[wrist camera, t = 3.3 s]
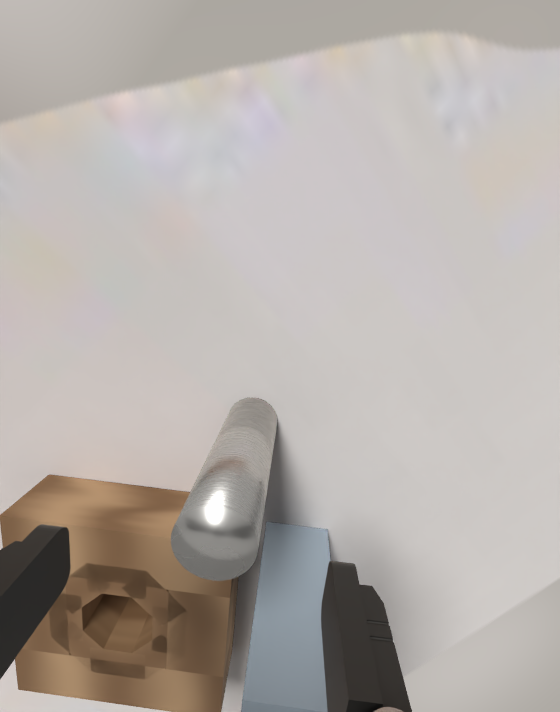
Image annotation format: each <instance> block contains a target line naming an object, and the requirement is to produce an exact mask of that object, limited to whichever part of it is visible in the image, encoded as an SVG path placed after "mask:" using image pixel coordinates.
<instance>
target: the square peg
mask: <svg viewBox="0 0 560 712" xmlns="http://www.w3.org/2000/svg"><path fill="white" fill-rule="evenodd" d="M330 561H331V560H330V549H329V539H328V529H320V528H312V527H304V526H297V525H289V524H281V523H273V522H266V530H265V537H264V544H263V552H262V559H261V566H260V574H259V581H258V589H257V596H256V603H255V611H254V618H253V626H252V633H251V640H250V648H249V655H248V663H247V670H246V677H245V685H244V692H243V700H242V709H241V712H328V711H327V697H326V684H325V670H324V657H323V643H322V629H321V606H322V598H323V592H324V587H325V581H326V575H327V570H328V565H329V562H330Z"/></svg>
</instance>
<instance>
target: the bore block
mask: <svg viewBox="0 0 560 712" xmlns="http://www.w3.org/2000/svg"><path fill="white" fill-rule="evenodd" d="M189 494H190V492H183V491H175V490H167V489H159V488H152V487H144V486H136V485H128V484H120V483H112V482H104V481H96V480H88V479H80V478H72V477H64V476H56V475H48V476H47V477H45V478H44V479H43V480H42V481H41V482H39V483H38V484H37V485H36V486H35V487H33V488H32V489H31V490H30V491H29V492H27V493H26V494H25V495H24V496H23V497H21V498H20V499H19V500H18V501H17V502H15V503H14V504H13V505H12V506H11V507H9V508H8V509H7V510H6V511H5V512H3V513H2V514H1V515H0V524H1V533H2V543H3V548H5V547H6V546H8V545H10V544H11V543H13V542H14V541H20V542H22V541H23V540H24V539H25V538H26V537H27V536H28V535H29V534H30V533H31V532H32V531H33V530H34V529H35V528H36V527H37V526H38V525H41V524H44V525H52V526H60V527H67V528H68V530H69V541H70V564H71V569H70V575H69V578H68V581H67V583H66V586H65V588H64V589H63V591H62V593H61V594H60V595H59V597H58V598H57V600H56V601H55V603H54V604H53V605H52V607H51V608H50V610H49V611H48V612H47V614H46V615H45V617H44V618H43V620H42V621H41V622H40V624H39V625H38V627H37V628H36V629H35V631H34V632H33V634H32V635H31V637H30V638H29V639H28V641H27V642H26V644H25V645H24V646H23V648H22V649H21V651H20V652H19V654H18V655H17V656H16V658H15V663H16V672H17V681H18V690H25V691H32V692H39V693H46V694H53V695H60V696H67V697H74V698H81V699H88V700H95V701H102V702H109V703H115V704H122V705H129V706H136V707H143V708H150V709H157V710H164V711H171V712H221V709H222V704H223V698H224V693H225V687H226V681H227V676H228V670H229V665H230V659H231V654H232V644H233V633H234V622H235V611H236V600H237V588H238V577H236V578H234V579H230V580H224V581H214V580H207V579H204V578H200V577H198V576H196V575H194V574H192V573H190V572H189V571H188V570H186V569H185V568H184V567H183V566H182V565H181V564H180V563H179V562H178V560H177V559H176V557H175V555H174V553H173V550H172V547H171V533H172V529H173V527H174V525H175V523H176V521H177V519H178V517H179V515H180V513H181V511H182V509H183V506H184V504H185V502H186V500H187V498H188V496H189Z"/></svg>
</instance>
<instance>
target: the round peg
mask: <svg viewBox="0 0 560 712" xmlns="http://www.w3.org/2000/svg"><path fill="white" fill-rule="evenodd" d="M276 429H277V415H276V413H275V411H274V409H273V408H272V406H271V405H270V404H268V403H267V402H266V401H264V400H262V399H259V398H245V399H242V400H240V401H238V402H237V403H236V404H234V406H233V407H232V408H231V410H230V412H229V414H228V416H227V418H226V420H225V422H224V424H223V426H222V428H221V430H220V433H219V435H218V437H217V439H216V441H215V443H214V445H213V447H212V449H211V451H210V453H209V455H208V457H207V459H206V461H205V463H204V465H203V467H202V469H201V472H200V474H199V476H198V478H197V480H196V482H195V484H194V486H193V488H192V490H191V492H190V494H189V496H188V498H187V500H186V502H185V504H184V506H183V509H182V511H181V513H180V515H179V517H178V519H177V521H176V523H175V525H174V527H173V529H172V533H171V547H172V550H173V553H174V555H175V557H176V559H177V560H178V562H179V563H180V564H181V565H182V566H183V567H184V568H185V569H186V570H188V571H189V572H190V573H192V574H194V575H196V576H198V577H200V578H204V579H207V580H214V581H224V580H230V579H234V578H236V577H239V576H240V575H242V574H244V573H245V572H246V571H248V570H249V569H250V568H251V566H252V565H253V564H254V562H255V560H256V557H257V554H258V548H259V542H260V535H261V528H262V522H263V515H264V508H265V502H266V495H267V489H268V482H269V475H270V469H271V462H272V455H273V449H274V442H275V435H276Z"/></svg>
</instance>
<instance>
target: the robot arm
mask: <svg viewBox="0 0 560 712" xmlns="http://www.w3.org/2000/svg"><path fill="white" fill-rule="evenodd" d="M70 569H71V564H70V541H69V530H68V528H67V527H60V526H52V525H44V524H41V525H38V526H37V527H36V528H35V529H34V530H33V531H32V532H31V533H30V534H29V535H28V536H27V537H26V538H25V539H24V540H23V541H22V542H20V541H14V542H13V543H11V544H10V545H8V546H6V547H5V548H3V549H1V550H0V679H1V678H2V676H3V675H4V673H5V672H6V671H7V669H8V668H9V666H10V665H11V663H12V662H13V661H14V659H15V658H16V656H17V655H18V654H19V652H20V651H21V649H22V648H23V646H24V645H25V644H26V642H27V641H28V639H29V638H30V637H31V635H32V634H33V632H34V631H35V629H36V628H37V627H38V625H39V624H40V622H41V621H42V620H43V618H44V617H45V615H46V614H47V612H48V611H49V610H50V608H51V607H52V605H53V604H54V603H55V601H56V600H57V598H58V597H59V595H60V594H61V593H62V591H63V589H64V588H65V586H66V583H67V581H68V578H69V575H70ZM388 623H389V622H388V618H387V615H386V611H385V607H384V603H383V602H382V600H381V599H380V597H379V596H378V594H377V593H376V591H375V590H374V588H373V587H372V586H367V585H359V581H358V576H357V571H356V567H355V564H352V563H344V562H336V561H330V562H329V565H328V570H327V575H326V581H325V587H324V592H323V598H322V606H321V629H322V643H323V657H324V670H325V684H326V697H327V711H328V712H412V710H411V706H410V703H409V699H408V695H407V691H406V687H405V684H404V680H403V676H402V672H401V668H400V664H399V661H398V657H397V653H396V649H395V645H394V643H393V638H392V634H391V630H390V626H389V625H388Z"/></svg>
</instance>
